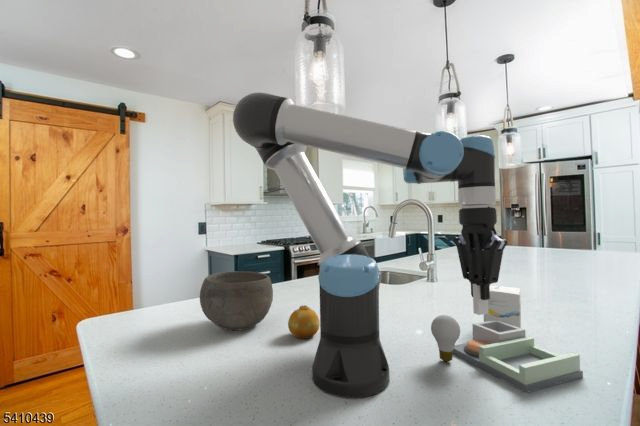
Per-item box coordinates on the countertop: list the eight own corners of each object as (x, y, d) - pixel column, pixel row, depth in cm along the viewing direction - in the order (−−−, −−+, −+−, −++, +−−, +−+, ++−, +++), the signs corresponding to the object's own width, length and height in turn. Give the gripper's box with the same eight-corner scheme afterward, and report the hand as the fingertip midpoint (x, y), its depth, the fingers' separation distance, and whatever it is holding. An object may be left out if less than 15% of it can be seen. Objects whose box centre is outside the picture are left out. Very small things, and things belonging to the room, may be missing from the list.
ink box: (521, 341, 81) (520, 293, 81) (483, 334, 85) (482, 290, 85) (521, 330, 88) (520, 287, 88) (486, 325, 93) (485, 284, 93)
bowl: (287, 324, 96) (286, 274, 96) (224, 345, 81) (224, 285, 81) (247, 311, 110) (246, 267, 111) (187, 327, 95) (186, 276, 95)
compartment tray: (526, 392, 57) (525, 361, 57) (449, 351, 75) (449, 327, 75) (582, 377, 62) (582, 348, 62) (498, 341, 80) (498, 319, 80)
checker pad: (480, 356, 69) (480, 350, 69) (462, 347, 74) (462, 341, 74) (499, 352, 70) (498, 346, 70) (479, 343, 75) (479, 338, 75)
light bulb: (463, 369, 67) (462, 320, 67) (433, 367, 68) (432, 319, 68) (457, 356, 72) (456, 312, 72) (430, 355, 73) (429, 310, 74)
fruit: (308, 318, 94) (299, 298, 91) (329, 327, 88) (319, 306, 85) (289, 339, 89) (278, 318, 86) (309, 350, 83) (298, 328, 80)
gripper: (515, 205, 67) (520, 319, 67) (467, 207, 80) (471, 304, 79) (488, 206, 65) (492, 324, 65) (443, 208, 77) (446, 307, 77)
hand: (480, 313), depth 72 cm, fingers closed
